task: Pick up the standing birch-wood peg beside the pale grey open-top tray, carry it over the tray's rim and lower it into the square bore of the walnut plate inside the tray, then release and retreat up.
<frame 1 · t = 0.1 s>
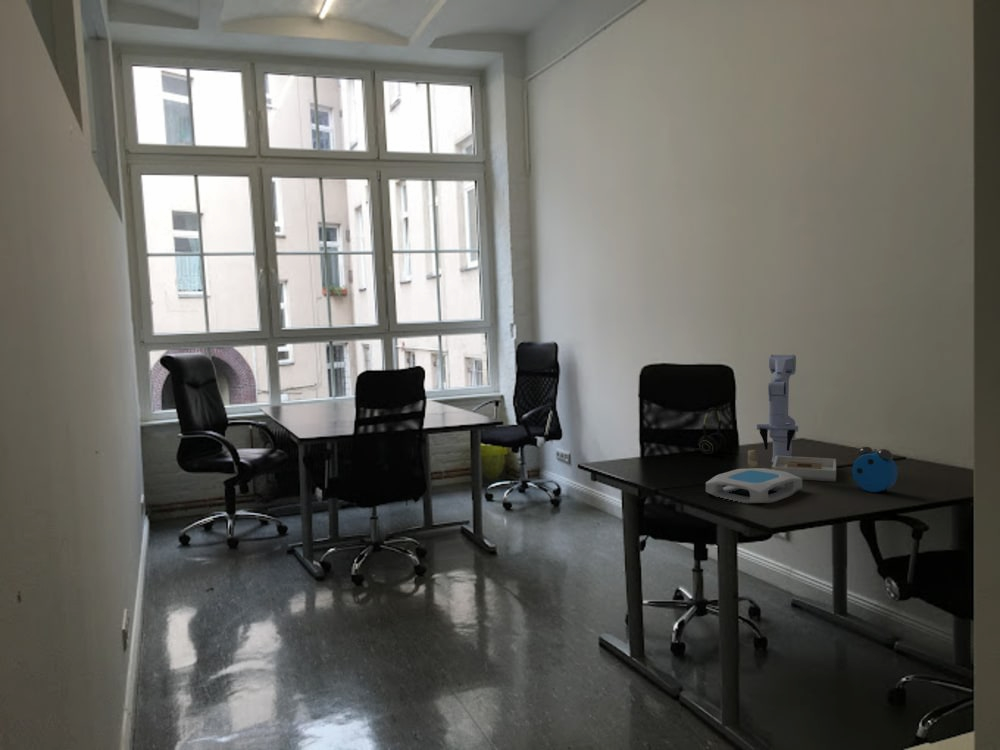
hand: (777, 449, 294), 10 cm above the table, tool pointing down, fingers open, 7 cm apart
white and blue housing: (754, 494, 270), on the table
tray: (804, 473, 298), on the table
bore plate: (804, 467, 298), in the tray, point 1 cm above the table
peg: (752, 468, 308), on the table
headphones: (712, 453, 339), on the table
alarm clock: (874, 491, 269), on the table
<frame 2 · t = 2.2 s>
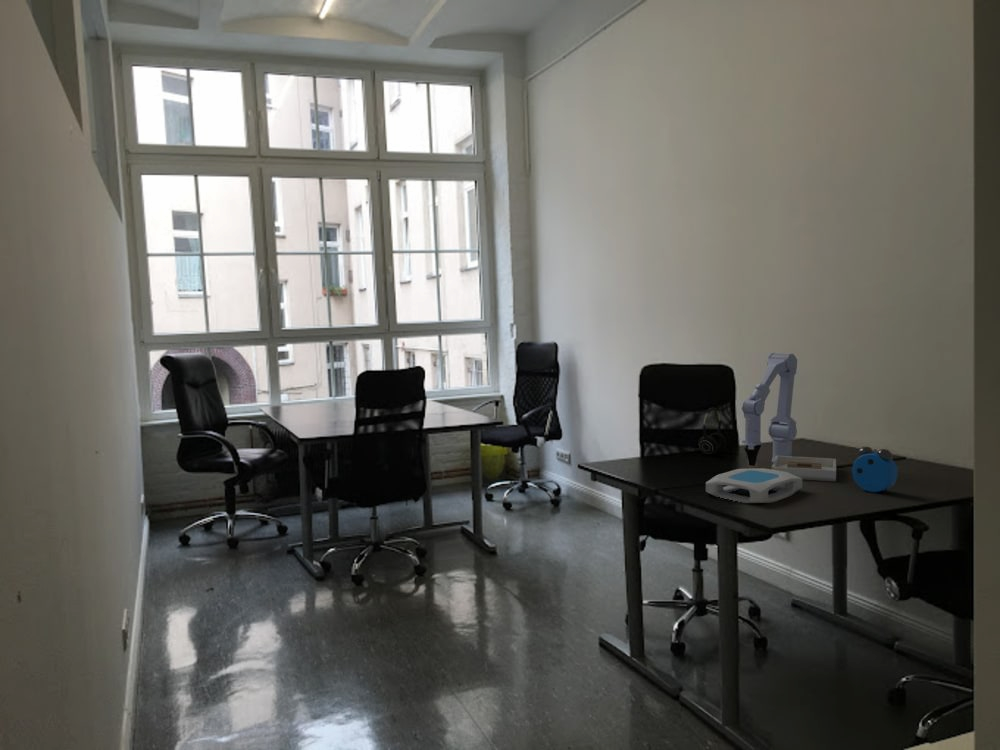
hand: (752, 464, 308), 2 cm above the table, tool pointing down, fingers closed on peg, 4 cm apart
peg: (752, 468, 308), on the table, touching gripper
everything else where it was.
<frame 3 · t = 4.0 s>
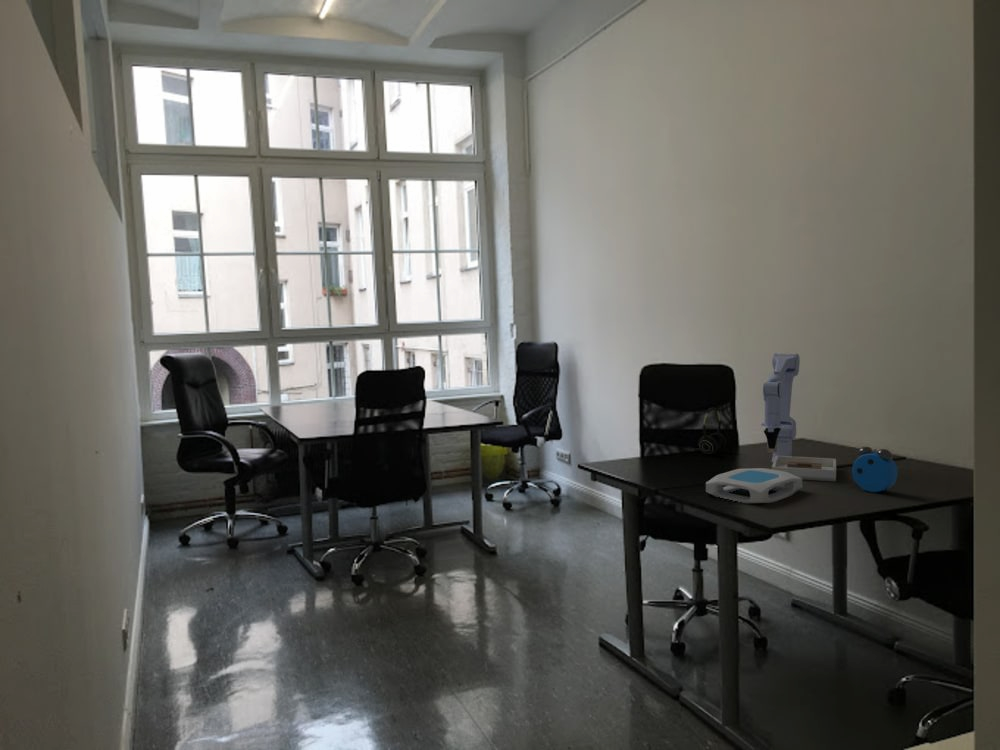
hand: (772, 447, 303), 9 cm above the table, tool pointing down, fingers closed on peg, 4 cm apart
peg: (772, 451, 304), point 7 cm above the table, touching gripper
everything else where it was.
when the fingers open (4 cm above the table, at t = 6.2 s): peg drops 1 cm, resting on tray.
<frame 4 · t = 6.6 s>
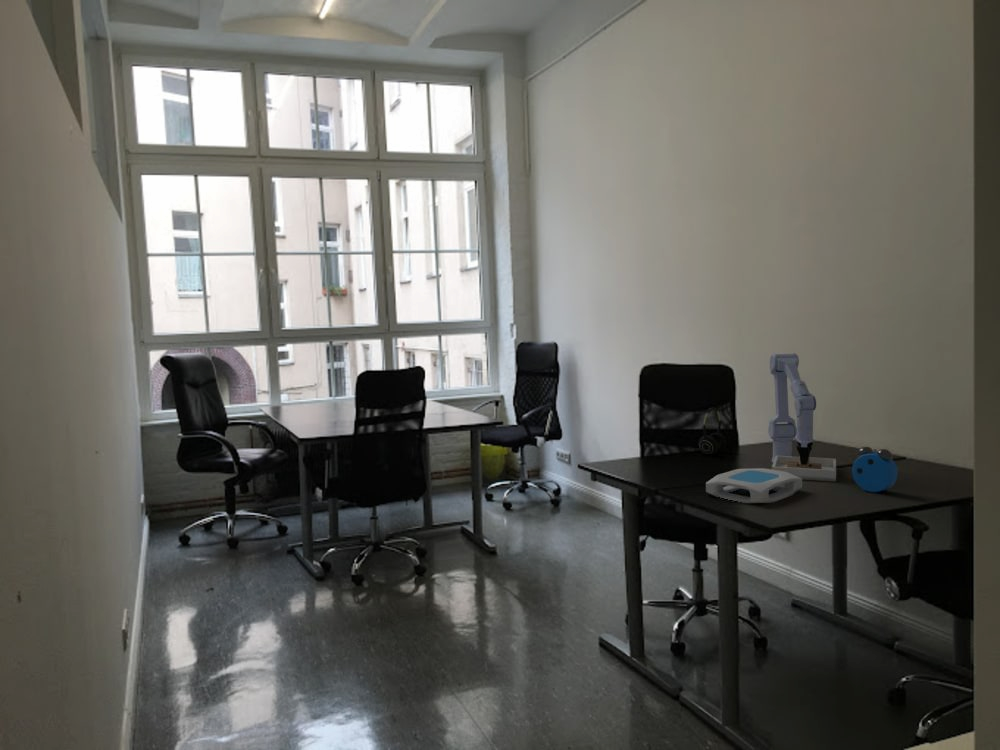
hand: (804, 462, 298), 4 cm above the table, tool pointing down, fingers open, 7 cm apart
peg: (804, 470, 298), point 1 cm above the table, touching tray
everything else where it was.
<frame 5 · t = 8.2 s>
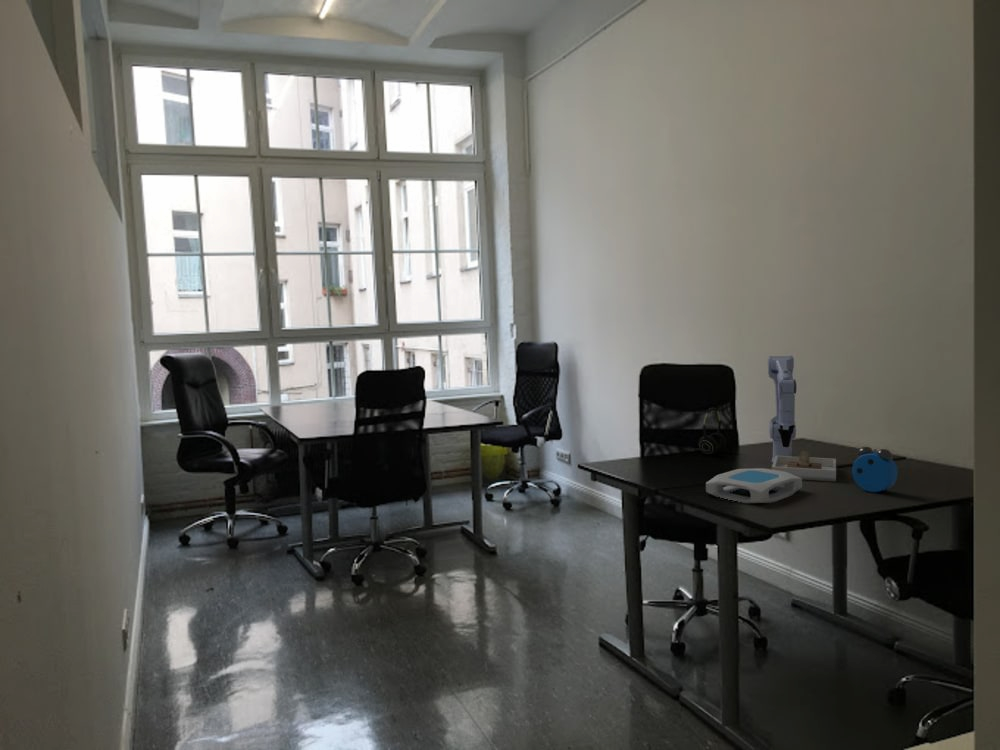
hand: (786, 445, 305), 9 cm above the table, tool pointing down, fingers open, 7 cm apart
nothing on the table moved.
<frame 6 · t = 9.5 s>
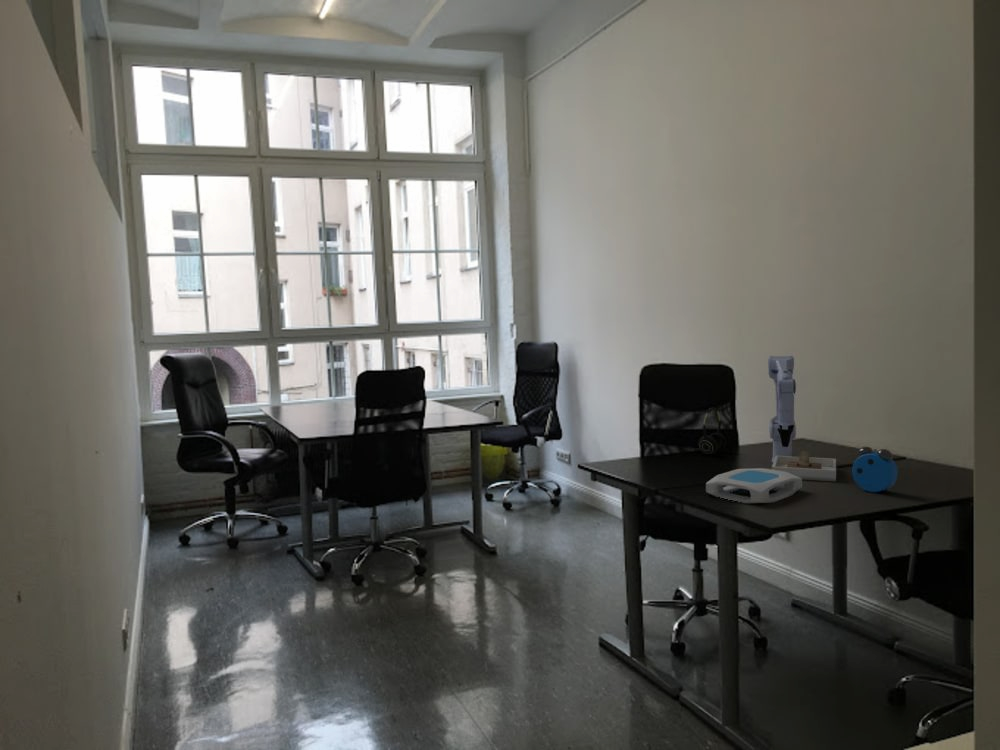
hand: (785, 444, 305), 9 cm above the table, tool pointing down, fingers open, 7 cm apart
nothing on the table moved.
at the end: peg 0.1 cm off-centre on the bore plate, point 1.0 cm above the bore plate's base; peg tilted 0°; the gripper is holding nothing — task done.
